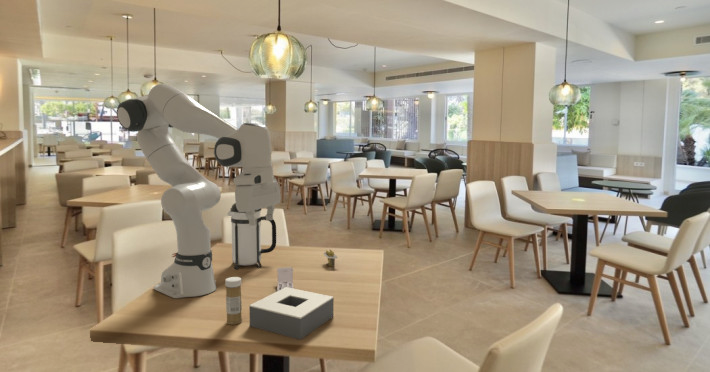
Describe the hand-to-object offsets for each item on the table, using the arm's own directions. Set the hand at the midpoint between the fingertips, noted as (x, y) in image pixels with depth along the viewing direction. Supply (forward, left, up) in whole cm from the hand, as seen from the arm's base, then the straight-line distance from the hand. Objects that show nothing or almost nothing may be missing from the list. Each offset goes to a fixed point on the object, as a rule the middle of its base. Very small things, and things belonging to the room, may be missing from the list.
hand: (261, 222), depth 135 cm
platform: (-10, +58, -30) cm, 66 cm away
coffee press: (-40, +41, -30) cm, 64 cm away
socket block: (+10, +2, -30) cm, 31 cm away
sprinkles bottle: (-5, -7, -30) cm, 31 cm away
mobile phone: (-6, +21, -30) cm, 37 cm away
